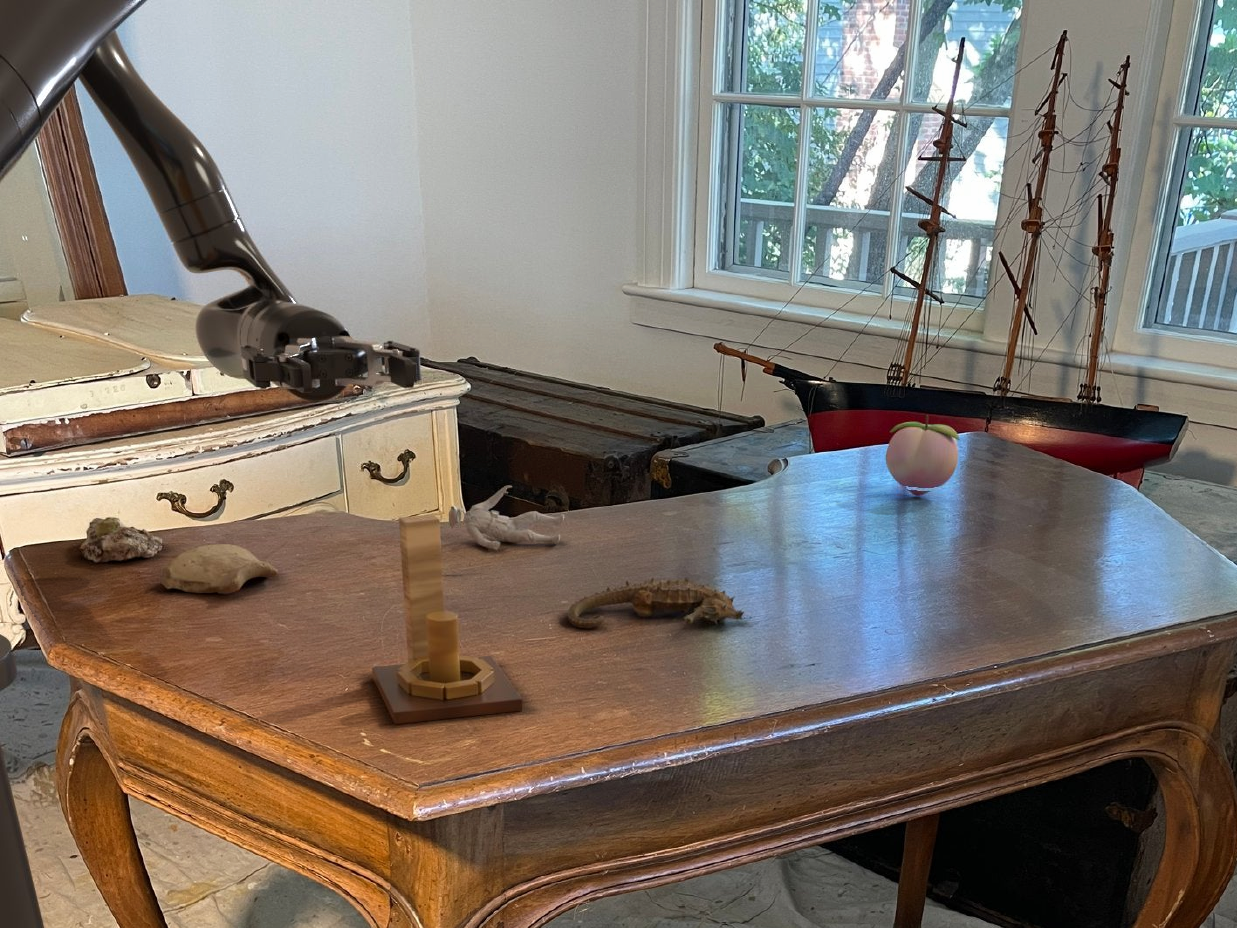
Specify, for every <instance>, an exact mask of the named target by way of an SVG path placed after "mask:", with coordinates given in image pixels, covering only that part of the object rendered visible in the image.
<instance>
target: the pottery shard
mask: <svg viewBox="0 0 1237 928" xmlns="http://www.w3.org/2000/svg"><path fill="white" fill-rule="evenodd" d="M278 575H279V572H278V570H277V568H275V567H274V566H273V564H271V563H269V562H266V561H262V560H260V559H258V558H257V557H256V556H254V554H253V553H251V551H250V550H248V549H247V548H244V547H242V546H238V545H235V544H234V545H233V544H228V543H224V544H223V543H221V544H208V545H202V546H197V547H195V548H192V549H189V550H187V551H185V552H182V553H180V554H178V555H177V556H176V557H175V558H174V559H172V560H171V561H170V562H169V563H168V564H167V565H166V566H165V567H164V568H163V569H162V571H161V574H160V576H159V578H158V582H159V583H160V584H161V585H162V586H164V588H166V589H167V590H172V589H177V590H181V591H183V592H186V593H194V594H211V593H213V594H214V593H217V594H221V595H223V594H231V593H235V592H237V591H239V590H240V589H241V588H242V586H243V585H244V584H245V583H246V582H247V581H249V580H252V579H254V578H261V577H262V578H267V579H271V578H272V579H275V578H276V577H277V576H278Z"/></svg>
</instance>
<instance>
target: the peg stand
mask: <svg viewBox="0 0 1237 928" xmlns="http://www.w3.org/2000/svg"><path fill="white" fill-rule="evenodd" d="M458 619H459V618H458V614H457V613H455V612H452V611H447V610H446V611H445V610H444V611H437V612H432V613H429V614H428V615H427V616H426V620H427V637H428V655H429V672H425V673H421V674H420V675H419V676H417V677H416V678H417V679H418V680H424V681H431V682H438V683H452V682H458V681H464V680H470V679H472V678H473V677H474V676H475V675H474V674H473V673H472V672H465V671H460V660H459V655H460V639H459V620H458ZM476 658H478V659H482V660H484V661H485V662H486V663H487V664H488V665H490V666H491V667H492V668H493V669H494V683H493V684H491V685H490V686H489V687H488V688H487V689H486V690H485V691H484V692H482V693H478V695H473V696H466V697H460V698H454V699H448V700H447V699H446V698H444V699H443V700H440V699H433V698H427V697H420V696H413V695H412V694H408V693H407V692H406V691H405V690H404V689H403V688H402V687H401V686H400V685H399V684H398V679H397V672H398V671H397V670H398V669H399V668H401V667H402V666H403V665H405V664H406V663H403V664H402V663H401V664H390V665H380V666H372V667H371V671H372V673H371V674H372V679H373V681H374V683H375V686H376V688H377V690H378V691H379V694H380V696H381V698H382V700H383V702H384V704H385V707H386V709H387V711H388V713H389V715H390V717H391V719H392V721H393V723H394V725H401V724H402V725H403V724H410V723H419V722H420V723H421V722H429V721H439V720H446V719H458V718H467V717H475V716H483V715H484V716H485V715H494V714H503V713H512V712H522V711H523V698H522V696H521V695H520V694H519V692H518V691H517V690H516V689H515V687H514V685H513V684H512V683H511V681H510V680H509V679H508V677H507V676H506V675H505V672H504V671H503V670H502V668H501V667H500V666H499V664H498V663H497V662H496V660H495V659H494V657H493V656H492V655H488V656H476Z"/></svg>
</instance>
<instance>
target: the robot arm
mask: <svg viewBox="0 0 1237 928" xmlns="http://www.w3.org/2000/svg"><path fill="white" fill-rule="evenodd" d="M147 2H148V0H0V184H1V183H3V181H4V180H5V179H6V177H7V176H8V175H9V174H10V173H11V172H12V171H13V169H14V168H15V167H16V166H17V165H18V164H19V162H20V161H21V159H22V158H23V157H24V155H25V154H26V152H27V151H28V150H30V147H31V146H32V145H33V144H34V142H35V140H37V139H38V137H39V135H40V133H41V132H42V130H43V129H44V127H45V125H46V124H47V123H48V121H49V119H50V118H51V116H53V114H54V113H55V112H56V110H57V109H58V107H59V106H60V105H61V103H62V101H63V100H64V99H65V97H66V96H67V95H68V93H69V92H70V90H71V89H72V87H73V86H74V84H75V83H76V81H77V80H79V82H80V83H81V84H82V86H83V88H84V89H85V91H86V92H87V94H88V95H89V97H90V98H91V100H92V102H93V103H94V105H95V106H96V107H97V109H98V110H99V112H100V114H101V115H102V117H103V118H104V120H105V121H106V123H107V124H108V126H109V128H110V129H111V130H112V132H113V134H114V135H115V137H116V139H117V140H118V141H119V143H120V145H121V147H122V148H123V150H124V152H125V153H126V155H127V156H128V158H129V160H130V162H131V164H132V165H133V168H134V169H135V171H136V173H137V174H138V177H139V178H140V180H141V183H142V184H143V187H144V188H145V190H146V192H147V195H148V197H149V199H150V200H151V203H152V205H153V207H154V209H155V211H156V213H157V215H158V218H159V219H160V221H161V224H162V226H163V228H164V230H165V232H166V235H167V236H168V238H169V240H170V242H171V244H172V247H173V249H174V251H175V253H176V255H177V257H178V259H179V261H180V262H181V264H182V266H183V267H184V269H186V270H187V271H188V272H189V273H193V274H197V275H199V274H207V273H213V272H219V271H234V272H236V273H237V274H239V275H240V276H241V277H242V278H244V280H245V282H246V283H247V284H248V286H247V287H243V288H242V289H239V290H237V291H234V292H232V293H230V294H227V295H225V296H222V297H219V298H217V299H215V300H212V301H211V302H209V303H207V304H205V305H203V307H202V308H201V309H200V311H199V312H198V313H197V316H196V319H195V326H194V327H195V328H194V329H195V336H196V339H197V343H198V346H199V348H200V350H201V352H202V353H203V356H204V357H205V358H206V359H207V360H208V362H209V363H210V364H211V365H212V366H213V367H214V368H215V369H216V370H218V371H219V372H220V373H222V374H224V375H225V376H227V377H230V378H234V379H237V380H245V381H247V382H249V383H250V384H251V385H253V386H254V387H255V388H257V389H258V388H259V389H260V390H266V389H267V388H271V387H272V384H274V385H275V386H277V387H278V388H280V389H282V390H283V391H286V392H287V393H289V394H291V395H293V396H295V397H297V398H299V399H301V400H305V401H309V402H324V401H328V400H331V399H333V398H335V397H337V396H339V395H340V394H341V393H342V392H344V391H345V389H346V388H347V387H349V386H354V385H355V386H356V385H357V386H364V387H374V386H375V387H376V386H379V385H382V384H383V383H384V382H385V383H392V384H395V385H396V386H399V387H401V388H403V389H413V388H414V386H415V383H418V382H420V381H422V380H423V379H422V373H421V372H422V371H421V349H418V348H416V347H412V346H409V345H405V344H402V343H399V342H395V341H394V340H387V341H385V342H383V347H382V345H381V344H380V343H379V342H376V341H366V340H357V339H353V337H352V336H351V334H350V332H349V331H348V329H347V328H346V326H345V325H344V324H343V323H341V321H340V320H339V319H337V318H336V317H334V316H333V315H332V314H330V313H327V312H325V311H323V310H319V309H316V308H314V307H310V306H308V305H304V304H302V303H299V302H298V300H296V298H295V297H294V295H293V294H292V292H291V291H290V290H289V288H287V286H286V285H285V284H284V282H283V281H282V280H281V278H280V277H279V276H278V275H277V274H276V273H275V271H274V269H272V267H271V265H270V264H269V263H268V262H267V260H266V259H265V257H264V256H263V254H262V253H261V251H260V249H259V248H258V246H257V245H256V244H255V242H254V241H253V238H252V237H251V235H250V233H249V231H248V230H247V228H246V225H245V223H244V221H243V219H242V217H241V214H240V212H239V210H238V207H237V206H236V203H235V201H234V199H233V196H232V194H231V192H230V190H229V188H228V185H227V183H226V181H225V178H224V177H223V174H222V173H221V171H220V169H219V167H218V165H217V163H216V162H215V160H214V158H213V157H212V155H211V153H210V152H209V150H208V149H207V148H206V147H205V145H204V144H203V143H202V142H201V140H200V139H199V138H198V137H197V136H196V135H195V134H194V132H193V131H191V129H190V128H189V127H187V125H186V124H185V123H184V122H183V121H182V120H181V119H180V118H179V117H178V116H176V114H175V113H173V111H172V110H170V108H169V107H168V106H167V105H166V104H165V103H163V101H162V100H161V99H160V98H159V97H158V96H157V95H156V93H154V91H152V89H151V88H150V87H149V85H148V84H147V83H146V82H145V81H144V79H143V78H142V77H141V76H140V74H139V73H138V71H137V69H136V67H134V65H133V63H132V62H131V60H130V58H129V56H128V54H127V53H126V51H125V49H124V47H123V44H122V42H121V40H120V38H119V35H118V33H117V29H118V28H119V27H120V26H121V25H122V24H123V23H125V21H126V20H127V19H129V18H130V16H132V15H133V14H134V13H135V12H136V11H138V9H140V8H141V7H143V5H145V4H146V3H147ZM383 367H384V369H383ZM366 373H367V376H363V375H365V374H366ZM271 383H272V384H271Z"/></svg>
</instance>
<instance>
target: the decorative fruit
mask: <svg viewBox="0 0 1237 928" xmlns="http://www.w3.org/2000/svg"><path fill="white" fill-rule="evenodd" d="M929 419H930V418H929V415H928V414H927V415H925V423H924V424H923V423H921V422H919V421H907V422H903V423H899V424H897V425H895V426H894V427H893V428H892V429H891V430H890V431H889V433H893V432H895V431H897V432H896V433H894V435H893V436H892V437H891V438H890V441H889V442H888V445H887V449H886V452H885V464H886V467H887V470H888V472H889V474H890V475H891V477H892V478H893V479H894V481H896V482H897V484H898V485H900V486H901V485H902V486H901V487H903V486H908V487H918V488H934V487H939V486H940V487H942V486H944V484H946V483H947V482H948V481H949V480H950V479H951V478H952V477H953V475H954V473H955V472H956V469H957V466H958V461H959V445H958V442H957V441H961V439H960V436H959V434H958V432H957V431H955V429H954V428H952V427H951V426H949V425H947V424H940V423H937V424H929ZM940 487H939V488H940ZM904 489H905V490H907V491H908V492H910V493H911V494H912V495H914V496H916V497H920V496H923V495H925V494H928V493H929V492H931V491H917V490H908V489H906V488H904Z"/></svg>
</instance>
